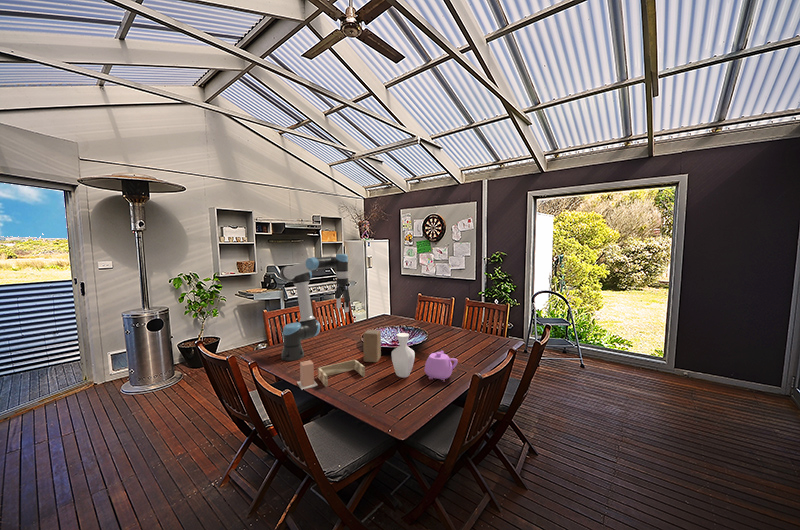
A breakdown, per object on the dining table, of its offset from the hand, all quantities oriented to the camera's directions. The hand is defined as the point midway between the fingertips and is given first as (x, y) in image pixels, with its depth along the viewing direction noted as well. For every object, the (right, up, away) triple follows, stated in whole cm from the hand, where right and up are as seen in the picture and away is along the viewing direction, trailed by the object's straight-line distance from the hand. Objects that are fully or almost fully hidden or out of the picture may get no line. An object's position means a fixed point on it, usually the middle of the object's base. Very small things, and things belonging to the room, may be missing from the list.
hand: (342, 310), depth 196 cm
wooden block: (+18, -36, +11) cm, 42 cm away
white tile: (-15, -39, -25) cm, 48 cm away
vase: (+39, -38, -12) cm, 56 cm away
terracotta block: (-15, -38, -25) cm, 48 cm away
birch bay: (+3, -38, -16) cm, 41 cm away
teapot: (+63, -38, -14) cm, 75 cm away
